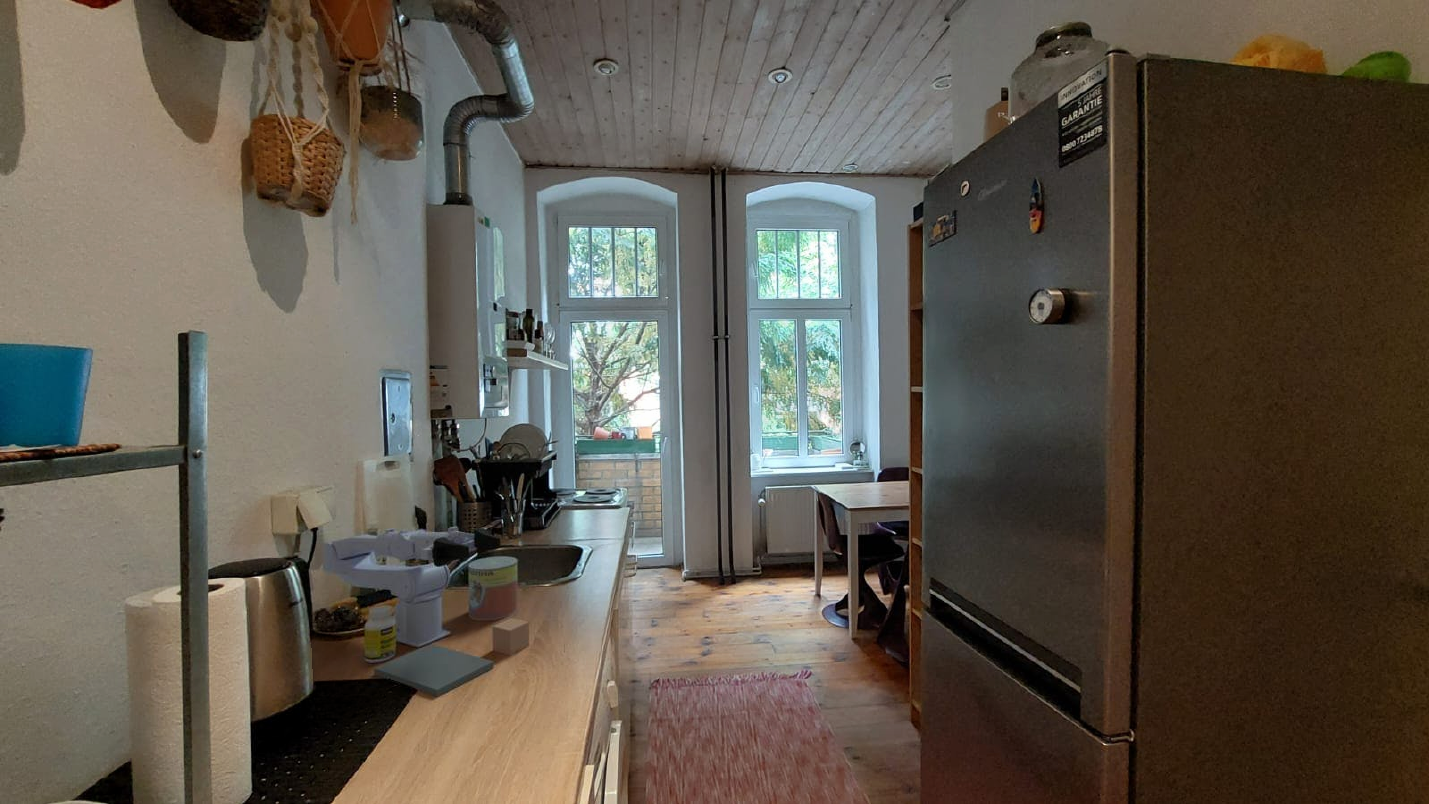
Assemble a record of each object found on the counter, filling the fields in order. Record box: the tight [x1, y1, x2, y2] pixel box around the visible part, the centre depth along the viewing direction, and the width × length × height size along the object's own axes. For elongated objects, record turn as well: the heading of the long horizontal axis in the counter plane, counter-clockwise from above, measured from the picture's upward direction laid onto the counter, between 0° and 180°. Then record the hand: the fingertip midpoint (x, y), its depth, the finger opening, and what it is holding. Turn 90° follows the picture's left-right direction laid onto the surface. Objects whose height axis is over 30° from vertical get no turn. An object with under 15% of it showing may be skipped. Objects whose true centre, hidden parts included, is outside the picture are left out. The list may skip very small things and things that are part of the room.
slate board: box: [373, 643, 494, 697], centre depth 108 cm, size 18×12×1 cm, turn 62°
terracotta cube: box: [492, 618, 530, 656], centre depth 118 cm, size 5×5×5 cm
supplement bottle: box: [364, 604, 397, 664], centre depth 114 cm, size 5×5×10 cm
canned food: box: [467, 555, 519, 621], centre depth 139 cm, size 11×11×12 cm
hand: (483, 547), depth 114 cm, fingers open, 7 cm apart
